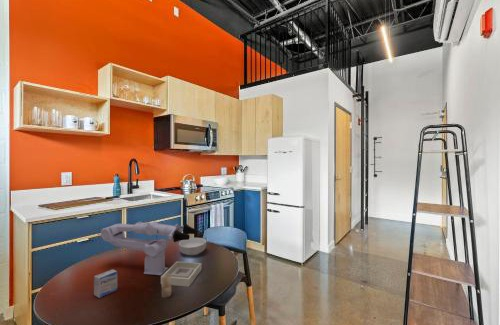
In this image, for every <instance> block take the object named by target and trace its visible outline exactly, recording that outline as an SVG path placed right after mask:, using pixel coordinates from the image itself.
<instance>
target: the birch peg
mask: <svg viewBox="0 0 500 325" xmlns="http://www.w3.org/2000/svg"><path fill="white" fill-rule="evenodd" d="M161 276H162V275H161ZM171 296H172V285H171V275H164V276H162V284H161V298H163V299H166V298H170V297H171Z"/></svg>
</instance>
